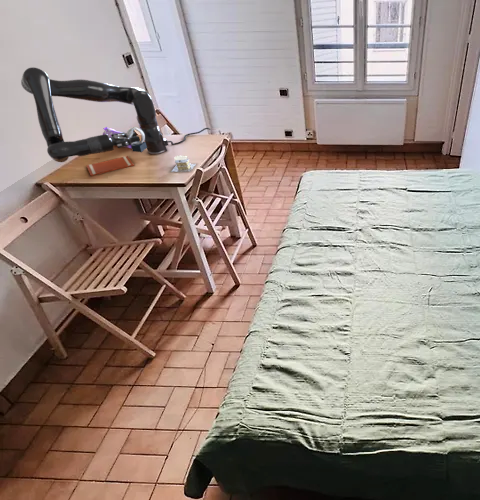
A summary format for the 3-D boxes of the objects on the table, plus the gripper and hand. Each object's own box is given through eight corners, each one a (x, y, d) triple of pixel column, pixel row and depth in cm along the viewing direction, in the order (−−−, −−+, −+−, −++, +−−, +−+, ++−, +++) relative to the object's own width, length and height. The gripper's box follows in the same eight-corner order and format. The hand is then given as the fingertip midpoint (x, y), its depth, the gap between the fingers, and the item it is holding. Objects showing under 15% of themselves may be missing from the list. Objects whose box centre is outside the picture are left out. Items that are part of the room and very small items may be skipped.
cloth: (128, 156, 208) (127, 155, 208) (133, 165, 199) (133, 164, 199) (86, 166, 199) (86, 165, 199) (91, 176, 190) (90, 174, 190)
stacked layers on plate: (196, 164, 200) (193, 154, 197) (190, 171, 193) (187, 161, 189) (177, 164, 200) (174, 154, 197) (170, 171, 193) (167, 161, 190)
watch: (134, 146, 190) (128, 124, 183) (150, 148, 190) (144, 126, 183) (128, 151, 186) (122, 128, 179) (144, 152, 186) (138, 130, 179)
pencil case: (103, 145, 222) (97, 129, 216) (117, 139, 229) (111, 124, 223) (129, 151, 214) (123, 135, 208) (143, 145, 221) (137, 129, 215)
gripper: (98, 141, 170) (138, 132, 178) (93, 131, 179) (131, 124, 187) (105, 156, 175) (144, 148, 183) (100, 147, 184) (137, 139, 192)
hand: (137, 136), depth 185 cm, fingers closed on watch, 6 cm apart
